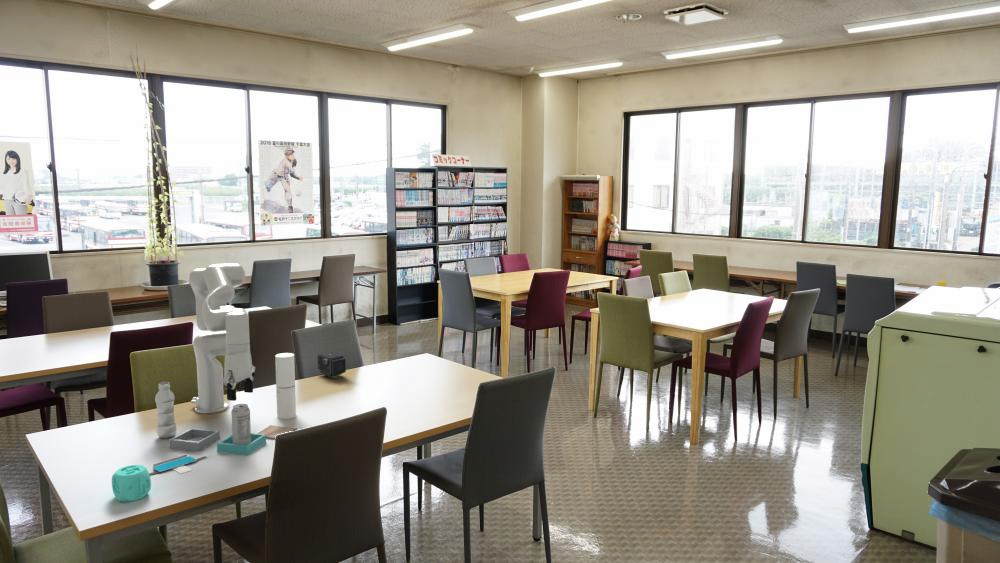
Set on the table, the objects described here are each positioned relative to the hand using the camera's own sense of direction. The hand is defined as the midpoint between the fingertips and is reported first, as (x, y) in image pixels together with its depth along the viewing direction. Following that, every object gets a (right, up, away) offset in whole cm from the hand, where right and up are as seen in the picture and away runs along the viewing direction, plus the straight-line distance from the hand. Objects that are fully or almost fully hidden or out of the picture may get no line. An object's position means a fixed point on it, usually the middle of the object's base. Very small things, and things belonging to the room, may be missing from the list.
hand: (240, 396), depth 230 cm
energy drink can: (0, -19, +3) cm, 19 cm away
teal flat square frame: (0, -18, +3) cm, 19 cm away
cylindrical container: (+5, -14, +35) cm, 38 cm away
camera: (+8, -7, +92) cm, 93 cm away
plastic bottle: (-31, -17, +12) cm, 37 cm away
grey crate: (-18, -18, +6) cm, 26 cm away
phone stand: (-15, -21, -14) cm, 30 cm away
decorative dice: (-18, -24, -35) cm, 46 cm away
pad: (+7, -17, +17) cm, 24 cm away
